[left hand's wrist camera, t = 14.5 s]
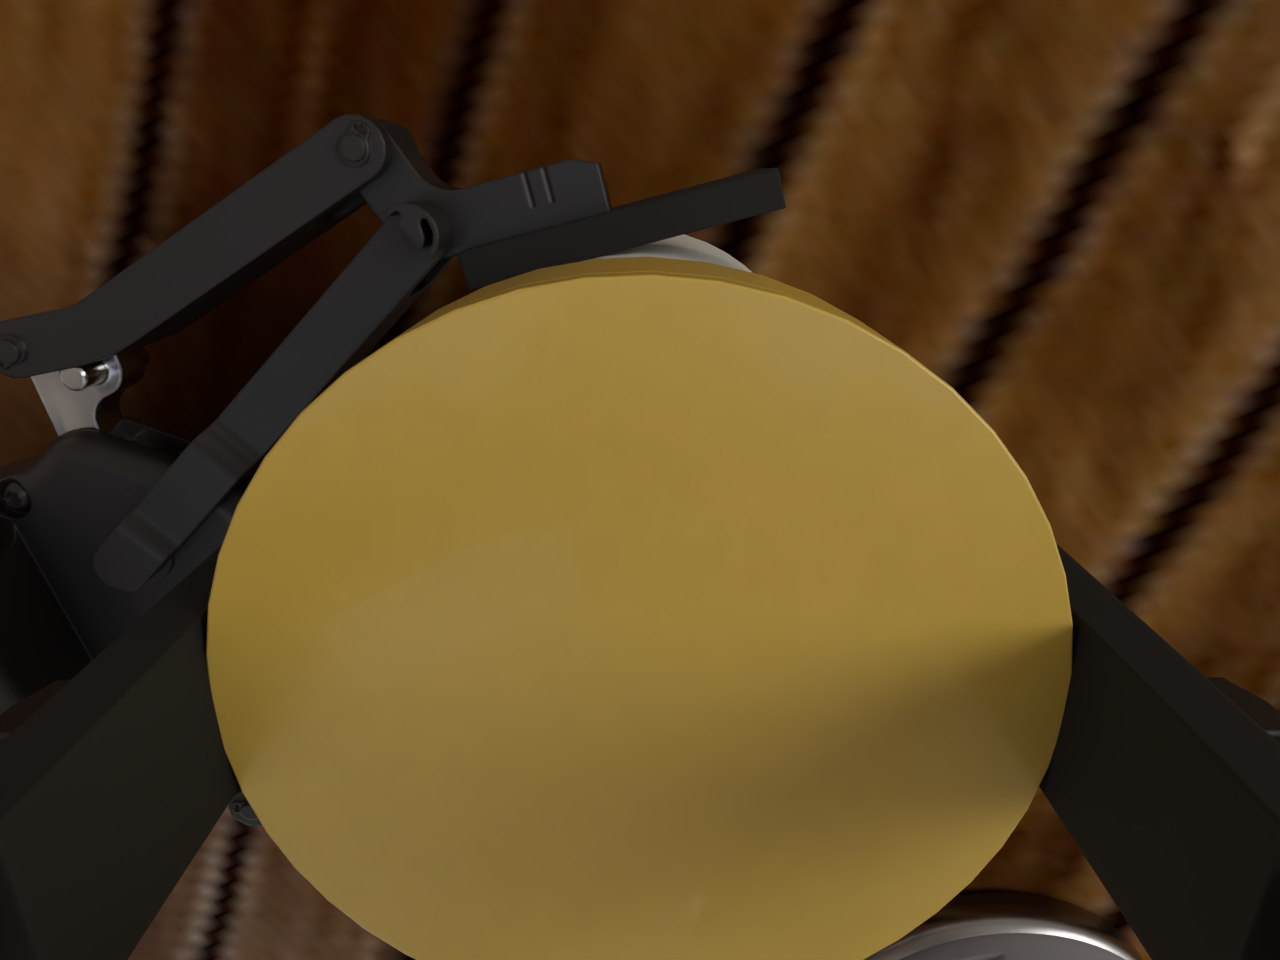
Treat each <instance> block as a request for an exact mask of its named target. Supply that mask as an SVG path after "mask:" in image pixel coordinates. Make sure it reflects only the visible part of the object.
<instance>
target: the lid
mask: <svg viewBox="0 0 1280 960" xmlns="http://www.w3.org/2000/svg"><path fill="white" fill-rule="evenodd" d="M1072 646H1073V623H1072V616H1071V609H1070V602H1069V594H1068V587H1067V580H1066V574H1065V571H1064V567H1063V564H1062V561H1061V558H1060V554H1059V551H1058V548H1057V545H1056V541H1055V538H1054V535H1053V532H1052V529H1051V525H1050V523H1049V521H1048V519H1047V517H1046V515H1045V513H1044V511H1043V509H1042V507H1041V505H1040V503H1039V501H1038V499H1037V497H1036V495H1035V493H1034V491H1033V489H1032V487H1031V485H1030V483H1029V481H1028V479H1027V477H1026V475H1025V474H1024V472H1023V471H1022V469H1021V468H1020V466H1019V465H1018V464H1017V462H1016V461H1015V459H1014V458H1013V457H1012V455H1011V454H1010V452H1009V451H1008V450H1007V448H1006V447H1005V445H1004V444H1003V443H1002V441H1001V440H1000V438H999V437H998V435H997V434H996V433H995V431H994V430H993V429H992V428H991V427H990V426H989V425H988V424H987V423H986V422H985V421H984V420H983V419H982V418H981V416H980V415H979V414H978V413H977V412H976V411H975V410H974V409H973V408H972V407H971V406H970V405H969V404H968V403H967V402H966V401H965V400H964V399H963V398H962V397H961V396H960V395H959V394H958V393H957V392H956V391H955V390H954V389H953V388H952V387H951V386H950V385H948V384H947V383H946V382H944V381H943V380H942V379H941V378H939V377H938V376H937V375H935V374H934V373H933V372H931V371H930V370H929V369H927V368H926V367H925V366H923V365H922V364H921V363H920V362H918V361H917V360H916V359H914V358H913V357H912V356H910V355H909V354H908V353H906V352H905V351H904V350H902V349H901V348H899V347H898V346H896V345H895V344H893V343H892V342H890V341H889V340H887V339H886V338H884V337H883V336H881V335H880V334H879V333H877V332H876V331H874V330H873V329H871V328H870V327H868V326H867V325H865V324H864V323H862V322H861V321H859V320H857V319H856V318H854V317H852V316H850V315H848V314H847V313H845V312H843V311H841V310H839V309H838V308H836V307H834V306H832V305H830V304H829V303H827V302H825V301H823V300H821V299H820V298H818V297H816V296H814V295H812V294H810V293H807V292H805V291H802V290H800V289H797V288H794V287H792V286H789V285H787V284H784V283H781V282H779V281H776V280H774V279H771V278H768V277H766V276H763V275H760V274H756V273H752V272H747V271H743V270H739V269H735V268H730V267H726V266H722V265H718V264H713V263H709V262H702V261H691V260H681V259H670V258H659V257H630V258H606V259H591V260H586V261H580V262H574V263H569V264H563V265H558V266H552V267H546V268H541V269H537V270H534V271H531V272H528V273H525V274H521V275H518V276H515V277H512V278H509V279H506V280H503V281H500V282H497V283H494V284H491V285H488V286H485V287H483V288H481V289H479V290H477V291H475V292H473V293H471V294H469V295H467V296H464V297H462V298H460V299H458V300H456V301H454V302H452V303H450V304H448V305H446V306H444V307H442V308H440V309H438V310H436V311H435V312H433V313H432V314H430V315H429V316H427V317H426V318H424V319H423V320H421V321H420V322H418V323H417V324H415V325H414V326H412V327H411V328H409V329H408V330H406V331H405V332H403V333H402V334H400V335H399V336H397V337H396V338H394V339H393V340H392V341H390V342H389V343H387V344H386V345H384V346H383V347H381V348H380V349H378V350H377V351H375V352H374V353H372V354H371V355H369V356H368V357H366V358H365V359H363V360H362V361H360V362H359V363H357V364H356V365H355V366H353V367H352V368H350V369H349V370H347V371H346V372H344V373H343V374H342V375H341V376H340V377H339V378H338V379H337V380H336V381H334V382H333V383H332V384H331V385H330V386H329V387H328V388H327V389H326V390H325V391H324V392H322V393H321V394H320V395H319V396H318V397H317V398H316V399H315V400H314V401H313V402H311V403H310V404H309V405H308V406H307V407H306V408H305V409H304V410H303V411H302V412H301V413H300V414H299V415H298V416H297V418H296V419H295V420H294V421H293V422H292V424H291V425H290V426H289V427H288V429H287V430H286V431H285V432H284V434H283V435H282V436H281V437H280V439H279V440H278V441H277V442H276V444H275V445H274V446H273V447H272V449H271V450H270V451H269V452H268V454H267V455H266V456H265V457H264V459H263V461H262V462H261V464H260V466H259V468H258V469H257V471H256V473H255V475H254V476H253V478H252V480H251V482H250V483H249V485H248V487H247V489H246V490H245V492H244V494H243V496H242V497H241V499H240V501H239V503H238V504H237V507H236V509H235V512H234V514H233V517H232V520H231V522H230V525H229V528H228V530H227V533H226V536H225V538H224V541H223V544H222V546H221V549H220V551H219V554H218V559H217V564H216V568H215V573H214V578H213V583H212V588H211V593H210V598H209V603H208V617H207V640H206V661H207V670H208V677H209V682H210V687H211V692H212V697H213V702H214V706H215V711H216V716H217V720H218V724H219V729H220V733H221V737H222V741H223V746H224V750H225V753H226V756H227V758H228V760H229V763H230V765H231V767H232V769H233V772H234V774H235V776H236V779H237V781H238V783H239V786H240V788H241V790H242V792H243V794H244V796H245V797H246V799H247V801H248V802H249V804H250V806H251V807H252V809H253V811H254V812H255V814H256V816H257V817H258V819H259V821H260V822H261V824H262V826H263V827H264V829H265V831H266V832H267V833H268V835H269V836H270V837H271V838H272V840H273V841H274V842H275V843H276V845H277V846H278V847H279V848H280V850H281V851H282V852H283V853H284V855H285V856H286V857H287V858H288V860H289V861H290V862H291V864H292V865H293V866H294V867H295V869H297V870H298V871H299V872H300V873H301V874H302V875H303V876H304V877H305V878H306V879H307V880H308V881H309V882H310V883H311V884H312V885H313V886H314V887H315V888H316V889H317V890H318V891H319V892H320V893H321V894H322V895H323V896H324V897H325V898H326V899H327V900H328V901H329V902H331V903H332V904H333V905H334V906H336V907H337V908H338V909H339V910H341V911H342V912H343V913H345V914H346V915H347V916H348V917H350V918H351V919H352V920H354V921H355V922H356V923H357V924H359V925H360V926H361V927H363V928H364V929H365V930H367V931H368V932H370V933H372V934H373V935H375V936H376V937H378V938H380V939H381V940H383V941H385V942H386V943H388V944H389V945H391V946H393V947H394V948H396V949H398V950H399V951H401V952H402V953H404V954H406V955H408V956H410V957H412V958H414V959H416V960H864V959H866V958H867V957H869V956H871V955H873V954H874V953H876V952H878V951H880V950H882V949H883V948H885V947H887V946H889V945H891V944H892V943H894V942H896V941H898V940H899V939H901V938H902V937H903V936H905V935H906V934H908V933H909V932H911V931H912V930H913V929H915V928H916V927H918V926H919V925H920V924H922V923H923V922H925V921H926V920H927V919H929V918H930V917H932V916H933V915H934V914H936V913H937V912H938V911H939V910H940V909H942V908H943V907H944V906H945V905H946V904H947V903H948V902H949V901H951V900H952V899H953V898H954V897H955V896H956V895H957V894H958V893H959V892H961V891H962V890H963V889H964V888H965V887H966V886H967V885H968V884H970V883H971V882H972V881H973V879H974V878H975V877H976V876H977V875H978V874H979V873H980V871H981V870H982V869H983V868H984V867H985V866H986V865H987V863H988V862H989V861H990V860H991V859H992V858H993V857H994V856H995V854H996V853H997V852H998V851H999V850H1000V849H1001V848H1002V846H1003V845H1004V843H1005V842H1006V840H1007V839H1008V837H1009V836H1010V834H1011V833H1012V831H1013V830H1014V829H1015V827H1016V826H1017V824H1018V823H1019V821H1020V820H1021V818H1022V817H1023V815H1024V814H1025V812H1026V811H1027V809H1028V808H1029V806H1030V804H1031V802H1032V800H1033V798H1034V796H1035V794H1036V792H1037V790H1038V787H1039V785H1040V783H1041V781H1042V779H1043V777H1044V775H1045V773H1046V771H1047V769H1048V767H1049V765H1050V762H1051V759H1052V756H1053V753H1054V750H1055V747H1056V743H1057V739H1058V735H1059V731H1060V727H1061V723H1062V718H1063V713H1064V709H1065V704H1066V699H1067V694H1068V689H1069V685H1070V680H1071V675H1072Z"/></svg>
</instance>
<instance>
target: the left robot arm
mask: <svg viewBox="0 0 1280 960" xmlns="http://www.w3.org/2000/svg"><path fill="white" fill-rule="evenodd" d="M1056 545H1057V544H1056ZM221 546H222V545H221ZM221 546H220V547H219V548H218V549H216V550H215V551H214V552H213V553H212V554H211V555H210V556H209V557H207V558H206V559H205V560H204V561H203V562H202V563H201V564H200V565H198V566H197V567H196V568H195V569H194V570H193V571H192V572H191V573H190V574H188V575H187V576H186V577H185V578H184V579H183V580H182V581H181V582H179V583H178V584H177V585H176V586H175V587H174V588H173V589H172V590H171V591H169V592H168V593H167V594H166V595H165V596H164V597H163V598H162V599H160V600H159V601H158V602H157V603H156V604H155V605H154V606H153V607H151V608H150V609H149V610H148V611H147V612H146V613H145V614H144V615H143V616H141V617H140V618H139V619H138V620H137V621H136V622H135V623H134V624H132V625H131V626H130V627H129V628H128V629H127V630H126V631H125V632H123V633H122V634H121V635H120V636H119V637H118V638H117V639H116V640H115V641H113V642H112V643H111V644H110V645H109V646H108V647H107V648H106V649H104V650H103V651H102V652H101V653H100V654H99V655H98V656H97V657H95V658H94V659H93V660H92V661H91V662H90V663H89V664H88V665H87V666H85V667H84V668H83V669H82V670H81V671H80V672H79V673H78V674H76V675H75V676H74V677H73V678H72V679H71V680H70V681H56V682H54V683H52V684H50V685H48V686H46V687H45V688H43V689H41V690H39V691H37V692H35V693H34V694H32V695H30V696H28V697H26V698H24V699H23V700H21V701H19V702H17V703H15V704H14V705H12V706H11V707H9V708H8V709H7V710H6V711H5V712H4V713H2V714H1V715H0V960H127V959H128V958H129V956H130V955H131V953H132V951H133V950H134V948H135V947H136V945H137V944H138V942H139V941H140V939H141V938H142V936H143V935H144V933H145V931H146V930H147V928H148V927H149V925H150V924H151V922H152V921H153V919H154V918H155V916H156V915H157V913H158V911H159V910H160V908H161V907H162V905H163V904H164V902H165V901H166V899H167V898H168V896H169V895H170V893H171V891H172V890H173V888H174V887H175V885H176V884H177V882H178V881H179V879H180V878H181V876H182V875H183V873H184V871H185V870H186V868H187V867H188V865H189V864H190V862H191V861H192V859H193V858H194V856H195V855H196V853H197V851H198V850H199V848H200V847H201V845H202V844H203V842H204V841H205V839H206V838H207V836H208V835H209V833H210V831H211V830H212V828H213V827H214V825H215V824H216V822H217V821H218V819H219V818H220V816H221V814H222V813H223V811H224V810H225V808H226V807H227V805H228V804H229V802H230V801H231V799H232V798H233V796H234V794H235V793H236V791H237V790H238V788H239V787H240V786H239V783H238V781H237V779H236V776H235V774H234V772H233V769H232V767H231V765H230V763H229V760H228V758H227V756H226V753H225V750H224V746H223V741H222V737H221V733H220V729H219V724H218V720H217V716H216V711H215V706H214V702H213V697H212V692H211V687H210V682H209V677H208V670H207V661H206V640H207V617H208V603H209V598H210V593H211V588H212V583H213V578H214V573H215V568H216V564H217V559H218V554H219V551H220V549H221ZM1057 548H1058V551H1059V554H1060V558H1061V561H1062V564H1063V567H1064V571H1065V574H1066V580H1067V587H1068V594H1069V602H1070V609H1071V616H1072V623H1073V646H1072V675H1071V680H1070V685H1069V689H1068V694H1067V699H1066V704H1065V709H1064V713H1063V718H1062V723H1061V727H1060V731H1059V735H1058V739H1057V743H1056V747H1055V750H1054V753H1053V756H1052V759H1051V762H1050V765H1049V767H1048V769H1047V771H1046V773H1045V775H1044V777H1043V779H1042V781H1041V783H1040V785H1039V787H1040V788H1041V790H1042V791H1043V793H1044V794H1045V796H1046V797H1047V799H1048V800H1049V802H1050V803H1051V805H1052V807H1053V808H1054V810H1055V811H1056V813H1057V814H1058V816H1059V817H1060V819H1061V820H1062V822H1063V823H1064V825H1065V827H1066V828H1067V830H1068V831H1069V833H1070V834H1071V836H1072V837H1073V839H1074V840H1075V842H1076V843H1077V845H1078V847H1079V848H1080V850H1081V851H1082V853H1083V854H1084V856H1085V857H1086V859H1087V860H1088V862H1089V863H1090V865H1091V867H1092V868H1093V870H1094V871H1095V873H1096V874H1097V876H1098V877H1099V879H1100V880H1101V882H1102V883H1103V885H1104V887H1105V888H1106V890H1107V891H1108V893H1109V894H1110V896H1111V897H1112V899H1113V900H1114V902H1115V904H1116V905H1117V907H1118V908H1119V910H1120V911H1121V913H1122V914H1123V916H1124V917H1125V919H1126V920H1127V922H1128V924H1129V925H1130V927H1131V928H1132V930H1133V931H1134V933H1135V934H1136V936H1137V937H1138V939H1139V940H1140V942H1141V944H1142V945H1143V947H1144V948H1145V950H1146V951H1147V953H1148V954H1149V956H1150V957H1151V959H1152V960H1280V712H1279V711H1278V710H1276V709H1275V708H1274V707H1273V706H1272V705H1270V704H1269V703H1268V702H1266V701H1265V700H1263V699H1261V698H1259V697H1257V696H1255V695H1253V694H1252V693H1250V692H1248V691H1246V690H1244V689H1242V688H1241V687H1239V686H1237V685H1235V684H1233V683H1231V682H1230V681H1228V680H1226V679H1224V678H1206V677H1205V676H1204V675H1203V674H1202V673H1200V672H1199V671H1198V670H1197V669H1196V668H1195V667H1194V666H1193V665H1191V664H1190V663H1189V662H1188V661H1187V660H1186V659H1185V658H1184V657H1182V656H1181V655H1180V654H1179V653H1178V652H1177V651H1176V650H1175V649H1174V648H1172V647H1171V646H1170V645H1169V644H1168V643H1167V642H1166V641H1165V640H1163V639H1162V638H1161V637H1160V636H1159V635H1158V634H1157V633H1156V632H1155V631H1153V630H1152V629H1151V628H1150V627H1149V626H1148V625H1147V624H1146V623H1144V622H1143V621H1142V620H1141V619H1140V618H1139V617H1138V616H1137V615H1135V614H1134V613H1133V612H1132V611H1131V610H1130V609H1129V608H1128V607H1127V606H1125V605H1124V604H1123V603H1122V602H1121V601H1120V600H1119V599H1118V598H1116V597H1115V596H1114V595H1113V594H1112V593H1111V592H1110V591H1109V590H1108V589H1106V588H1105V587H1104V586H1103V585H1102V584H1101V583H1100V582H1099V581H1097V580H1096V579H1095V578H1094V577H1093V576H1092V575H1091V574H1090V573H1088V572H1087V571H1086V570H1085V569H1084V568H1083V567H1082V566H1081V565H1080V564H1078V563H1077V562H1076V561H1075V560H1074V559H1073V558H1072V557H1071V556H1069V555H1068V554H1067V553H1066V552H1065V551H1064V550H1063V549H1062V548H1060V547H1059V546H1058V545H1057ZM864 960H1143V959H1142V957H1141V956H1140V954H1139V953H1138V951H1137V950H1136V949H1135V947H1134V946H1133V945H1132V943H1131V942H1130V941H1129V940H1128V939H1127V938H1126V937H1125V936H1124V935H1123V934H1122V933H1121V932H1120V931H1119V930H1118V929H1116V928H1115V927H1114V926H1112V925H1111V924H1110V923H1108V922H1107V921H1105V920H1104V919H1102V918H1100V917H1099V916H1097V915H1095V914H1094V913H1091V912H1089V911H1087V910H1085V909H1083V908H1081V907H1078V906H1075V905H1073V904H1070V903H1067V902H1064V901H1060V900H1056V899H1052V898H1048V897H1043V896H1037V895H1031V894H1022V893H1003V892H991V893H975V894H967V895H959V896H955V897H954V898H953V899H952V900H951V901H949V902H948V903H947V904H946V905H945V906H944V907H943V908H942V909H940V910H939V911H938V912H937V913H936V914H934V915H933V916H932V917H930V918H929V919H927V920H926V921H925V922H923V923H922V924H920V925H919V926H918V927H916V928H915V929H913V930H912V931H911V932H909V933H908V934H906V935H905V936H903V937H902V938H901V939H899V940H898V941H896V942H894V943H892V944H891V945H889V946H887V947H885V948H883V949H882V950H880V951H878V952H876V953H874V954H873V955H871V956H869V957H867V958H866V959H864Z"/></svg>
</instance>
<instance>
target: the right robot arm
mask: <svg viewBox="0 0 1280 960" xmlns="http://www.w3.org/2000/svg"><path fill="white" fill-rule="evenodd" d="M367 203H368V204H369V206H370V207H371V208H372V210H373V211H374V212H375V214H376V215H377V216H378V218H379V219H380V220H381V222H382V223H383V225H382V226H381V227H380V228H379V229H378V231H377V232H376V233H375V234H374V235H373V236H372V238H371V239H370V240H369V241H368V242H367V243H366V245H365V246H364V247H363V248H362V249H361V250H360V252H359V253H358V254H357V255H356V256H355V257H354V259H353V260H352V261H351V262H350V263H349V264H348V266H347V267H346V268H345V269H344V270H343V272H342V273H341V274H340V275H339V276H338V277H337V279H336V280H335V281H334V282H333V283H332V284H331V286H330V287H329V288H328V289H327V290H326V291H325V293H324V294H323V295H322V296H321V297H320V298H319V300H318V301H317V302H316V303H315V304H314V305H313V307H312V308H311V309H310V310H309V311H308V313H307V314H306V315H305V316H304V317H303V318H302V320H301V321H300V322H299V323H298V324H297V325H296V327H295V328H294V329H293V330H292V331H291V332H290V334H289V335H288V336H287V337H286V338H285V339H284V341H283V342H282V343H281V344H280V345H279V346H278V348H277V349H276V350H275V351H274V352H273V354H272V355H271V356H270V357H269V358H268V359H267V361H266V362H265V363H264V364H263V365H262V366H261V368H260V369H259V370H258V371H257V372H256V373H255V375H254V376H253V377H252V378H251V379H250V380H249V382H248V383H247V384H246V385H245V386H244V387H243V389H242V390H241V391H240V392H239V393H238V395H237V396H236V397H235V398H234V399H233V400H232V402H231V403H230V404H229V405H228V406H227V407H226V409H225V410H224V411H223V412H222V413H221V414H220V416H219V417H218V418H217V419H216V420H215V421H214V422H213V423H212V424H211V425H210V426H209V427H207V428H206V429H205V430H204V431H203V432H201V433H200V434H199V435H198V436H197V437H196V438H195V439H194V440H193V439H190V438H187V437H184V436H182V435H179V434H176V433H173V432H170V431H167V430H165V429H162V428H159V427H156V426H153V425H150V424H148V423H145V422H142V421H139V420H136V419H133V418H129V417H124V416H121V412H120V409H119V400H120V397H121V395H122V393H123V392H124V391H125V390H126V389H127V388H128V387H130V386H132V385H134V384H136V383H137V382H139V381H140V379H141V378H142V377H143V374H144V372H145V365H146V364H147V363H148V360H149V355H148V352H147V350H146V349H145V348H144V347H143V345H146V344H149V343H152V342H155V341H158V340H160V339H163V338H165V337H168V336H170V335H172V334H175V333H177V332H178V331H180V330H182V329H184V328H185V327H187V326H189V325H190V324H192V323H193V322H195V321H196V320H198V319H199V318H201V317H202V316H204V315H205V314H206V313H208V312H209V311H211V310H212V309H214V308H215V307H217V306H218V305H220V304H221V303H222V302H224V301H225V300H227V299H228V298H230V297H231V296H233V295H234V294H236V293H237V292H239V291H240V290H241V289H243V288H244V287H246V286H247V285H249V284H250V283H252V282H253V281H255V280H256V279H257V278H259V277H260V276H262V275H263V274H265V273H266V272H268V271H269V270H271V269H272V268H274V267H275V266H276V265H278V264H279V263H281V262H282V261H284V260H285V259H287V258H288V257H290V256H291V255H292V254H294V253H295V252H297V251H298V250H300V249H301V248H303V247H304V246H306V245H307V244H309V243H310V242H311V241H313V240H314V239H316V238H317V237H319V236H320V235H322V234H323V233H325V232H326V231H327V230H329V229H330V228H332V227H333V226H335V225H336V224H338V223H339V222H341V221H342V220H343V219H345V218H346V217H348V216H349V215H351V214H352V213H354V212H355V211H357V210H358V209H360V208H361V207H362V206H364V205H365V204H367ZM783 208H786V207H785V201H784V196H783V190H782V185H781V179H780V174H779V168H764V169H756V170H752V171H749V172H745V173H741V174H737V175H734V176H730V177H726V178H722V179H719V180H715V181H711V182H707V183H704V184H700V185H696V186H692V187H689V188H685V189H681V190H677V191H674V192H670V193H666V194H662V195H659V196H655V197H651V198H647V199H644V200H640V201H636V202H632V203H629V204H625V205H621V206H617V207H614V208H612V205H611V201H610V197H609V193H608V189H607V185H606V181H605V178H604V174H603V170H602V166H601V163H597V162H590V161H583V160H576V159H568V160H565V161H561V162H557V163H554V164H550V165H546V166H543V167H539V168H535V169H532V170H528V171H525V172H521V173H517V174H513V175H510V176H506V177H502V178H499V179H495V180H491V181H488V182H484V183H480V184H477V185H473V186H469V187H466V188H462V189H460V188H455V187H452V186H450V185H447V184H446V183H444V182H443V181H441V180H440V179H439V178H438V177H437V176H436V175H435V174H434V172H433V171H432V170H431V168H430V167H429V166H428V164H427V163H426V162H425V160H424V159H423V157H422V156H421V155H420V153H419V152H418V150H417V145H416V143H415V141H414V138H413V136H412V135H411V134H410V133H409V132H408V131H407V129H406V128H405V127H403V126H401V125H399V124H397V123H395V122H391V121H386V120H381V119H376V118H371V117H367V116H362V115H352V114H345V115H343V116H340V117H338V118H336V119H334V120H333V121H331V122H330V123H328V124H327V125H326V126H324V127H323V128H321V129H320V130H319V131H317V132H316V133H314V134H313V135H312V136H310V137H309V138H307V139H306V140H305V141H303V142H302V143H301V144H299V145H298V146H296V147H295V148H294V149H292V150H291V151H289V152H288V153H287V154H285V155H284V156H282V157H281V158H280V159H278V160H277V161H275V162H274V163H273V164H271V165H270V166H268V167H267V168H266V169H264V170H263V171H261V172H260V173H259V174H257V175H256V176H254V177H253V178H252V179H250V180H249V181H247V182H246V183H245V184H243V185H242V186H240V187H239V188H238V189H236V190H235V191H234V192H232V193H231V194H229V195H228V196H227V197H225V198H224V199H222V200H221V201H220V202H218V203H217V204H215V205H214V206H213V207H211V208H210V209H208V210H207V211H206V212H204V213H203V214H201V215H200V216H199V217H197V218H196V219H194V220H193V221H192V222H190V223H189V224H187V225H186V226H185V227H183V228H182V229H180V230H179V231H178V232H176V233H175V234H173V235H172V236H171V237H169V238H168V239H167V240H165V241H164V242H162V243H161V244H160V245H158V246H157V247H155V248H154V249H153V250H151V251H150V252H148V253H147V254H146V255H144V256H143V257H141V258H140V259H139V260H137V261H136V262H134V263H133V264H132V265H130V266H129V267H127V268H126V269H125V270H123V271H122V272H120V273H119V274H118V275H116V276H115V277H113V278H112V279H111V280H109V281H108V282H106V283H105V284H104V285H102V286H101V287H100V288H98V289H97V290H95V291H94V292H93V293H91V294H90V295H88V296H87V297H86V298H84V299H83V300H81V301H80V302H79V303H77V304H75V305H70V306H66V307H62V308H57V309H53V310H49V311H44V312H40V313H36V314H31V315H27V316H23V317H18V318H14V319H10V320H5V321H1V322H0V373H1V374H4V375H6V376H9V377H12V378H26V377H31V379H32V381H33V383H34V385H35V387H36V389H37V392H38V394H39V396H40V398H41V400H42V402H43V404H44V407H45V409H46V411H47V413H48V415H49V417H50V419H51V421H52V424H53V426H54V428H55V430H56V432H57V434H58V437H57V438H55V439H54V440H53V441H52V442H51V443H50V444H49V445H48V446H47V448H46V449H45V450H44V452H43V453H42V454H41V455H40V456H39V457H35V458H31V459H27V460H23V461H19V462H15V463H12V464H8V465H4V466H0V715H1V714H2V713H4V712H5V711H6V710H7V709H8V708H9V707H11V706H12V705H14V704H15V703H17V702H19V701H21V700H23V699H24V698H26V697H28V696H30V695H32V694H34V693H35V692H37V691H39V690H41V689H43V688H45V687H46V686H48V685H50V684H52V683H54V682H56V681H70V680H71V679H72V678H73V677H74V676H75V675H76V674H78V673H79V672H80V671H81V670H82V669H83V668H84V667H85V666H87V665H88V664H89V663H90V662H91V661H92V660H93V659H94V658H95V657H97V656H98V655H99V654H100V653H101V652H102V651H103V650H104V649H106V648H107V647H108V646H109V645H110V644H111V643H112V642H113V641H115V640H116V639H117V638H118V637H119V636H120V635H121V634H122V633H123V632H125V631H126V630H127V629H128V628H129V627H130V626H131V625H132V624H134V623H135V622H136V621H137V620H138V619H139V618H140V617H141V616H143V615H144V614H145V613H146V612H147V611H148V610H149V609H150V608H151V607H153V606H154V605H155V604H156V603H157V602H158V601H159V600H160V599H162V598H163V597H164V596H165V595H166V594H167V593H168V592H169V591H171V590H172V589H173V588H174V587H175V586H176V585H177V584H178V583H179V582H181V581H182V580H183V579H184V578H185V577H186V576H187V575H188V574H190V573H191V572H192V571H193V570H194V569H195V568H196V567H197V566H198V565H200V564H201V563H202V562H203V561H204V560H205V559H206V558H207V557H209V556H210V555H211V554H212V553H213V552H214V551H215V550H216V549H218V548H219V547H220V546H221V545H222V544H223V541H224V538H225V536H226V533H227V530H228V528H229V525H230V522H231V520H232V517H233V514H234V512H235V509H236V507H237V504H238V503H239V501H240V499H241V497H242V496H243V494H244V492H245V490H246V489H247V487H248V485H249V483H250V482H251V480H252V478H253V476H254V475H255V473H256V471H257V469H258V468H259V466H260V464H261V462H262V461H263V459H264V457H265V456H266V455H267V454H268V452H269V451H270V450H271V449H272V447H273V446H274V445H275V444H276V442H277V441H278V440H279V439H280V437H281V436H282V435H283V434H284V432H285V431H286V430H287V429H288V427H289V426H290V425H291V424H292V422H293V421H294V420H295V419H296V418H297V416H298V415H299V414H300V413H301V412H302V411H303V410H304V409H305V408H306V407H307V406H308V405H309V404H310V403H311V402H313V401H314V400H315V399H316V398H317V397H318V396H319V395H320V394H321V393H322V392H324V391H325V390H326V389H327V388H328V387H329V386H330V385H331V384H332V383H333V382H334V381H336V380H337V379H338V378H339V377H340V376H341V375H342V374H343V373H344V372H346V371H347V370H349V369H350V368H352V367H353V366H355V365H356V364H357V363H359V362H360V361H362V360H363V359H364V358H365V356H366V355H367V354H368V353H369V352H370V351H371V350H372V349H373V348H374V346H375V345H376V344H377V343H378V342H379V341H380V340H381V339H382V338H383V336H384V335H385V334H386V333H387V332H388V331H389V330H390V329H391V327H392V326H393V325H394V324H395V323H396V322H397V321H398V320H399V319H400V317H401V316H402V315H403V314H404V313H405V312H406V311H407V310H408V308H409V307H410V306H411V305H412V304H413V303H414V302H415V301H416V300H417V298H418V297H419V296H420V295H421V294H422V293H423V292H424V291H425V289H426V288H427V287H428V286H429V285H430V284H431V283H432V282H433V281H434V279H435V278H436V277H437V276H438V275H439V274H440V273H441V272H442V271H443V269H444V268H445V267H446V266H447V265H448V264H449V263H450V262H451V260H452V259H453V258H454V257H455V256H456V255H457V254H458V257H459V260H460V263H461V266H462V270H463V273H464V276H465V279H466V282H467V285H468V288H469V290H473V289H477V288H481V287H485V286H488V285H491V284H494V283H497V282H500V281H503V280H506V279H509V278H512V277H515V276H518V275H521V274H525V273H528V272H531V271H534V270H537V269H541V268H546V267H552V266H558V265H563V264H569V263H574V262H580V261H584V260H588V259H592V258H596V257H599V256H603V255H607V254H611V253H615V252H618V251H622V250H626V249H630V248H634V247H638V246H641V245H645V244H649V243H653V242H657V241H661V240H664V239H668V238H672V237H676V236H680V235H683V234H687V233H691V232H695V231H699V230H703V229H706V228H710V227H714V226H718V225H722V224H725V223H729V222H733V221H737V220H741V219H745V218H748V217H752V216H756V215H760V214H764V213H768V212H771V211H775V210H779V209H783ZM229 808H230V811H231V814H232V815H233V816H234V817H235V818H236V819H237V820H238V821H240V822H241V823H243V824H245V825H250V826H262V824H261V822H260V821H259V819H258V817H257V816H256V814H255V812H254V811H253V809H252V807H251V806H250V804H249V802H248V801H247V799H246V797H245V796H244V794H243V792H242V790H241V788H240V787H239V788H238V790H237V791H236V793H235V794H234V796H233V798H232V799H231V801H230V803H229Z"/></svg>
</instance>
